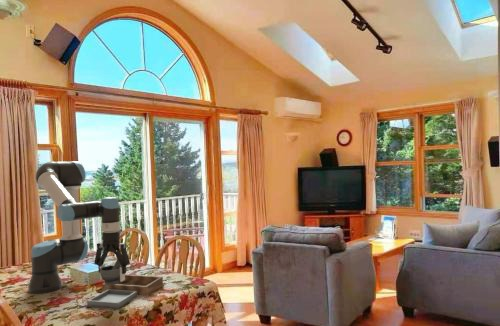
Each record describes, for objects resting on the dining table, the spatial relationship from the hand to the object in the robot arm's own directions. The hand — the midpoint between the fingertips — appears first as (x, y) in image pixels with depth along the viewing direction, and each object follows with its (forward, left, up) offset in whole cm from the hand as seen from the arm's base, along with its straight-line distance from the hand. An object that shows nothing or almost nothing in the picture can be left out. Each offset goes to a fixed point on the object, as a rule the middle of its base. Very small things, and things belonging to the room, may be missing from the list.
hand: (112, 280), depth 178 cm
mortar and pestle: (0, 0, -1) cm, 1 cm away
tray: (0, 0, -10) cm, 10 cm away
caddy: (0, +17, -10) cm, 20 cm away
